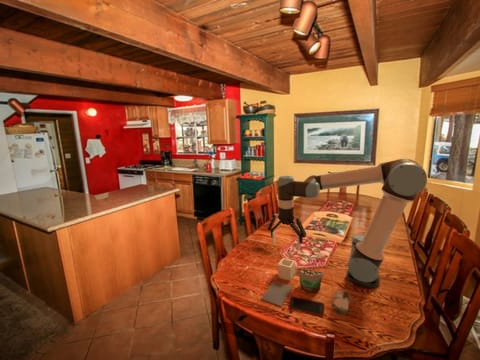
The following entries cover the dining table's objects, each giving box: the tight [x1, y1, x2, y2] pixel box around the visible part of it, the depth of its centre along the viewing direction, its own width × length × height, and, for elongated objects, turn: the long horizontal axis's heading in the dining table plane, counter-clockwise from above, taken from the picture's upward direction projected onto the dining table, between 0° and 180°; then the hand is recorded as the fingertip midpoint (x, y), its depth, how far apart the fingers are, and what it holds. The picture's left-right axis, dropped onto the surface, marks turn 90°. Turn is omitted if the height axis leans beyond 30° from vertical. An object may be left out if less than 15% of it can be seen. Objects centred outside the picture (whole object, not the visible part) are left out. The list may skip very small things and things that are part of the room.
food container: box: [297, 267, 324, 295], centre depth 113 cm, size 12×6×10 cm, turn 70°
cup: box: [277, 257, 296, 283], centre depth 126 cm, size 7×7×8 cm
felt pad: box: [260, 280, 294, 308], centre depth 114 cm, size 10×15×1 cm, turn 148°
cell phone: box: [288, 296, 325, 318], centre depth 104 cm, size 8×15×1 cm, turn 68°
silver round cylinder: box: [331, 290, 351, 316], centre depth 102 cm, size 8×6×6 cm
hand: (286, 245), depth 123 cm, fingers open, 13 cm apart
